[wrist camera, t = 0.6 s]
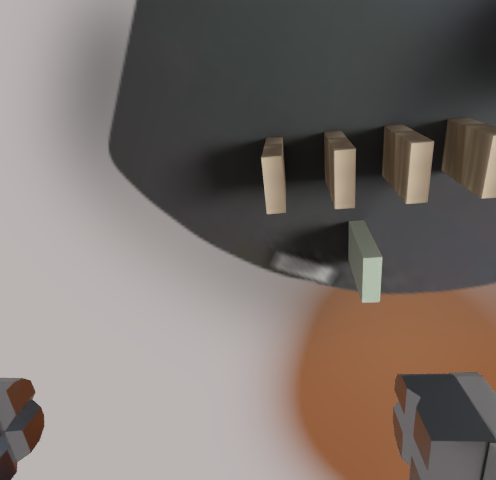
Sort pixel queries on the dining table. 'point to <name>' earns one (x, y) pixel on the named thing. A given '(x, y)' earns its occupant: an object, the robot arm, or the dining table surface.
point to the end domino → (364, 261)
